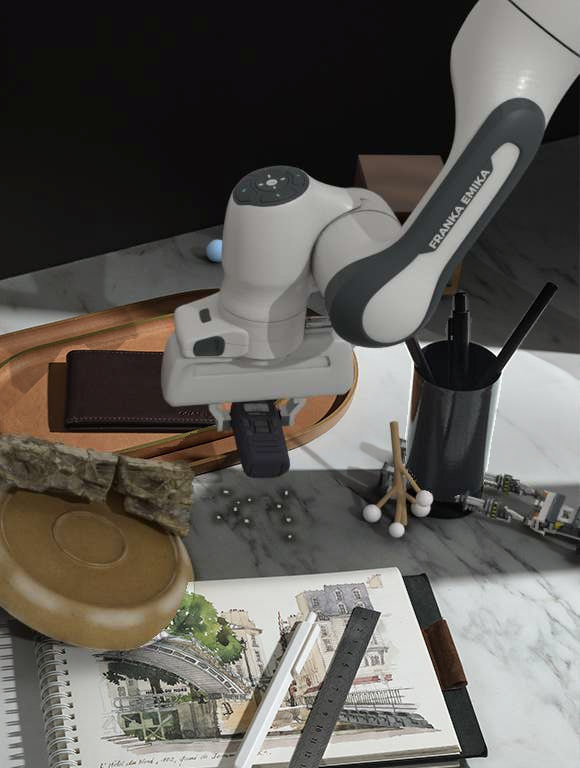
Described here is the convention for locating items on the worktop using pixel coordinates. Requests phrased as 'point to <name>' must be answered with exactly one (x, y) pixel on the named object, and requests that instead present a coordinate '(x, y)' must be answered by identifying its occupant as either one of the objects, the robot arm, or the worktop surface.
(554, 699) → the worktop surface
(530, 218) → the worktop surface
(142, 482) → the fossil
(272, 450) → the two-way radio
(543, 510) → the toy
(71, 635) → the plant saucer
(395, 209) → the cabinet
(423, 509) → the cotton branch
